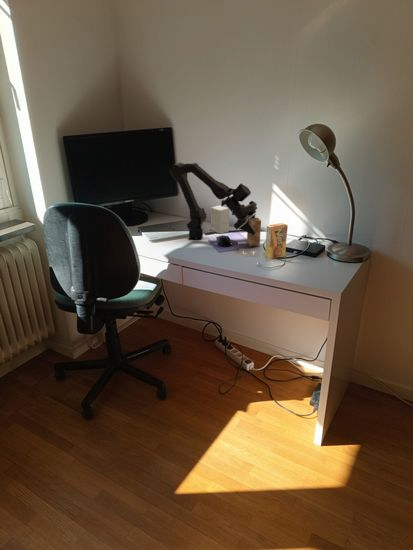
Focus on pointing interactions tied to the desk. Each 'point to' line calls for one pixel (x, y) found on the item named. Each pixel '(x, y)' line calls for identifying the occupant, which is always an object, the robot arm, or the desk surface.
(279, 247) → the candy box
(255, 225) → the walnut block
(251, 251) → the grey flat square plate
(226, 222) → the small box
